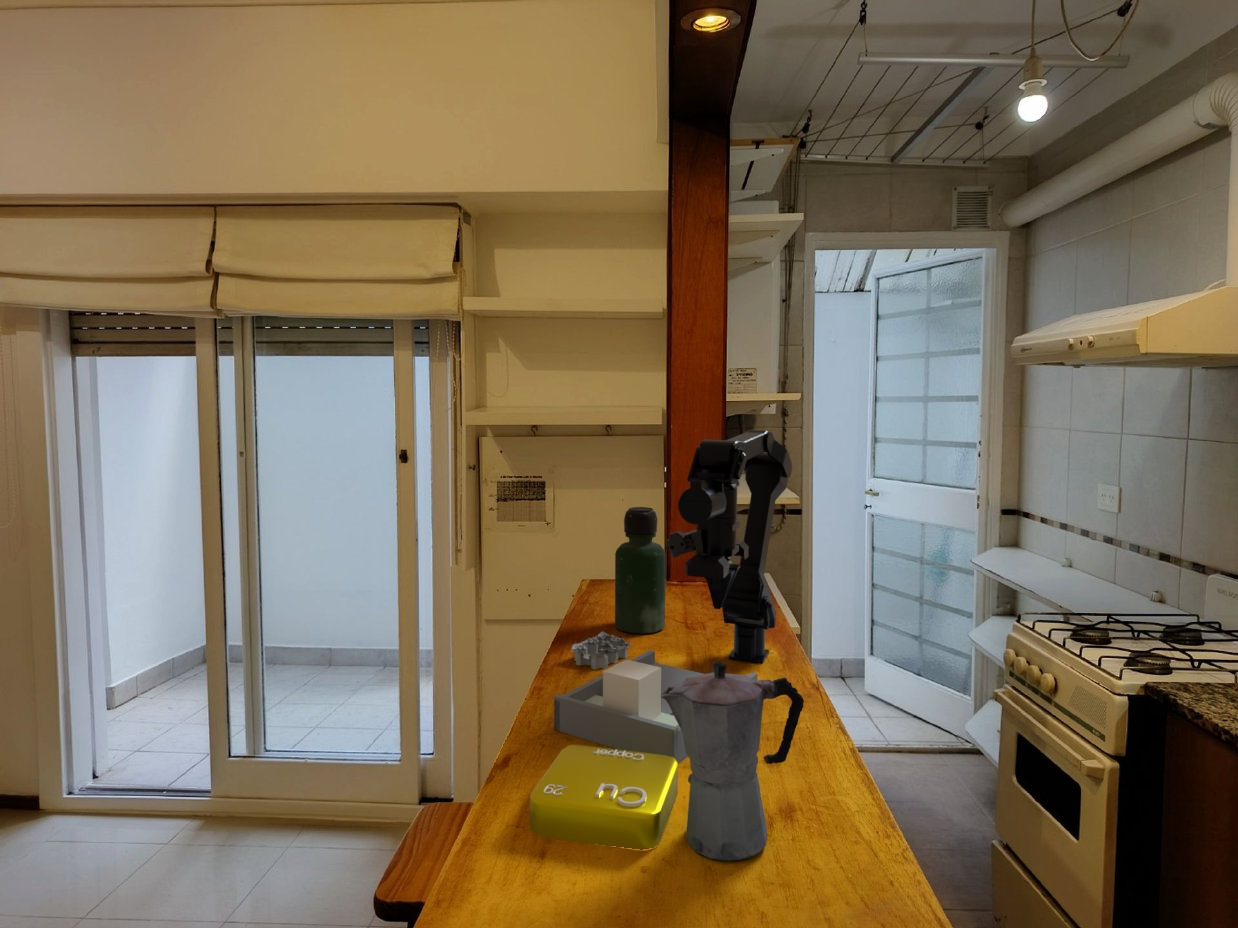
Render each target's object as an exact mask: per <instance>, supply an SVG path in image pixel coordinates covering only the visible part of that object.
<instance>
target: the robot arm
mask: <svg viewBox="0 0 1238 928" xmlns="http://www.w3.org/2000/svg"><path fill="white" fill-rule="evenodd" d="M792 471H793V464H792V460H791V457H790V454H789V451H788V449H787V448H786V447H785V446H783V445H782V444H781V443H780V442H778V441H777V440H775V438H774V435H773V433H772V432H771V431H769V430H754V429H751V430H750V429H749V430H747V431H744V432H743V433H741V434H738V435H736V436H734V437H731V438H729V439H726V440H725V439H724V440H722V439H703V440H701V442H699V445H698V446H697V447H696V449H695V453H694V455H693V459H692V462H691V465H690V469H689V472H688V475H687V478H686V479H687V482H689V488H687V489H685V490H684V491H683V492H682V493H681V495H680V496H679V500H678V502H677V507H678V512H679V514H680V517H681V518H682V519H683V520H684V521H685V522H686V523H688V524H690V525H691V524H692V525H696V529H694V530H690V531H688V532H682V531H680V530H678V531H676V532H672V533H670V534H669V535H668V539H667V540H666V547H665V549H666V551H669V552H670V554H671V557H672V558H673V559H676V558H678V557H680V556H681V555H685V554H688V553H691V552H694V553H695V555H693V556H692V557H690V558H689V559H688V560H687V561H686V562H685V563H684V570H685V571H684V575H685V576H687V577H694V578H695V577H697V578H704V580H706V583H707V587H708V591H709V595H710V599H711V603H712V606H713V608H714V610H721V611H722V616H723V623H724V624H731V625H733V649H732V650H731V651H730V653H729V654H728V656H727V657H728V659H730V660H738V661H746V662H753V663H759V664H760V663H761V664H762V663H764V662H765V660H766V659H767V658H768V655H769V654H770V650H769V649H766V648H765V647H766V631H768V630H769V629H775V628H776V623H777V622H776V621H777V611H776V608H775V606H774V603H773V600H772V598H771V588H770V585H769V584H768V583H769V582H768V581H767V579H766V575H765V571H766V570H765V569H766V565H767V556H768V551H769V545H770V539H771V538H770V537H771V533H772V532H771V531H772V524H773V520H774V519H773V518H774V513H775V505H776V501H777V499H778V498H779V497H781V495H782V494H783V493H784V492H785V490H786V489H787V485H788V481H789V478H790V477H791V476H792ZM743 472H744V474H745V477H744V478H745V479H744V480H745V482H746V484H747V487H748V489H749V492H750V494H751V495H750V501H749V506H748V511H747V512H748V513H747V518H746V523H745V530H744V536H743V540H737V529H738V528H740V520H738V519H737V518H738V514H737V513H738V487H739V486H740V480H741V477H742V474H743ZM733 556H734V557H735V556H736V557H740V560H739V564H736V563H733V559H731V558H733Z"/></svg>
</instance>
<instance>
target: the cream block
mask: <svg viewBox="0 0 1238 928" xmlns="http://www.w3.org/2000/svg"><path fill="white" fill-rule="evenodd" d="M631 660H632V659H626V658H625V659H624V660H623V661H621V662H619V663H618V662H617V664H616V663H615V664H614V665H613V666H611V667H609V668H606V669H604V670H603V671H602V675H603V707H606V708H610V709H613V710H617V711H621V712H624V713H628V714H632V715H635V716H639V717H642V718H646V719H650V720H653V719H655V718H656V717H658V716H659V715H661V667H657V666H653V665H648V664H644V663H640V662H635V661H631Z"/></svg>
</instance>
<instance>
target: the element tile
mask: <svg viewBox="0 0 1238 928" xmlns="http://www.w3.org/2000/svg"><path fill="white" fill-rule="evenodd" d="M678 781H679V763H678V762H677V760H675V759H674V758H673V757H670V756H666V755H659V754H651V753H643V752H634V751H626V750H618V749H615V748H610V747H602V746H601V747H600V746H591V745H583V744H582V745H581V744H570V745H569V744H568V745H567V746H566V747H564V748H562V749H561V750H560V752H559V753H558V755H557V756H556V757H555V759H554V760H553V762H552V763H551V764H550V766H549V767H548V769H546V771H545V772H544V774H543V776H542V777H541V778H540V779H539V780H538V782H537V784H536V785H535V787H534V788H533V790H531V792H530V794H529V795H530V796H529V826H530V827H529V828H530V832H532V834H534V835H536V836H539V837H541V838H542V837H543V838H550V839H556V840H563V841H568V842H576V843H580V844H581V843H582V844H589V845H594V844H598V845H597V846H601V845H605V846H604V847H607V846H616V847H624V848H632V849H640V850H643V849H649V848H654V847H655V846H657V845H659V846H660V844H661V843H660V842H662V840H661V839H663V837H662V836H664V834H665V830H666V829H665V828H667V826H666V825H668V823H669V820H670V816H671V814H672V812H671V811H673V809H674V806H675V803H676V800H677V797H678V793H679V790H678V789H679V782H678ZM672 808H673V809H672ZM663 833H664V834H663ZM590 843H591V844H590ZM659 843H660V844H659ZM657 847H658V846H657Z"/></svg>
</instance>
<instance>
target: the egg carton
mask: <svg viewBox="0 0 1238 928" xmlns="http://www.w3.org/2000/svg"><path fill="white" fill-rule="evenodd" d="M631 644H632V641H631V640H628V642H627V641H625V639H624V637H621V638H620V637H618V636H615V635H613V634H611V635H609V634H608V633H606V632H605V631H601V632H599V633H598V634H597V635H595V636H593V637H588V638H587V639H585V640H584V641H582V642H579V643H574V644H572V645H571V646H572V647H571V650H570V652H572V653H574V661H576V662H575V664H576V666H578V665H582V666H590V665H591V666H590V668H592V669H591V670H595V669H596V670H600V669H599V668H605V669H608V667H609V664H616V662H617V661H619V659H626V658H628V657H629V656H628V650H629V648H630V647H631ZM598 649H600V650H598ZM589 654H590V655H589ZM617 663H618V662H617Z"/></svg>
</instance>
